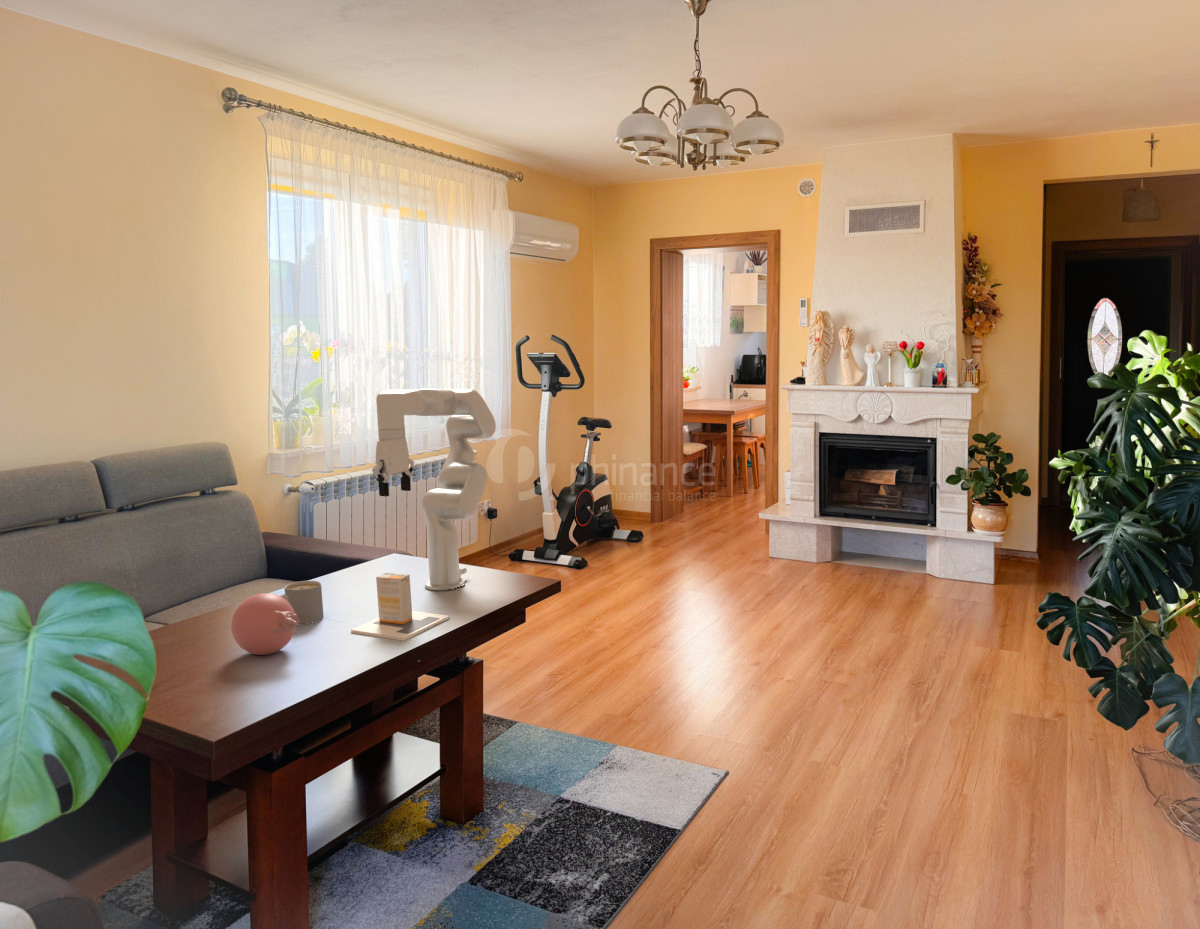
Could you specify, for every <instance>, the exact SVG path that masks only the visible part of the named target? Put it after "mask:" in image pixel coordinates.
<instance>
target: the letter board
mask: <svg viewBox="0 0 1200 929" xmlns="http://www.w3.org/2000/svg"><path fill="white" fill-rule="evenodd" d="M447 618H449V619H450V615H446V614H437V613H432V612H431V613H430V612H422V611H418V610H417V611H416V610H412V620H411V621H409V622H407V623H405V624H396V623H387V622H379V617H377V618H374V619H372V620H370V621H368V622H365V623H363V624H361V625H358V626H356V627H354V628H352V629H350V633H351V634H359V635H366V636H371V637H376V638H377V637H378V638H384V639H390V640H396V641H404V642H405V641H407V640H409V639H411V638H412V637H415V636H416V635H419V634H421V633H423V632H424V630H425V631H427V630H429V629H431V628H433V627H435V626H437V625H439V624H441V623H443V622H442V621H444V620H445V619H447ZM440 622H441V623H440ZM444 622H445V621H444ZM438 623H439V624H438ZM436 624H437V625H436ZM434 625H435V626H434ZM430 627H431V628H430ZM428 628H429V629H428Z"/></svg>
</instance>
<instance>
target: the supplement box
mask: <svg viewBox="0 0 1200 929" xmlns="http://www.w3.org/2000/svg"><path fill="white" fill-rule="evenodd" d="M410 575H411V574H408V573H407V574H404V573H392V572H385V573H382V574H379V575H377V576H376V577H375V578H376V579H375V580H376V592H377V605H378V606H377V607H378V618H379V622H387V623H396V624H405V623H407V622H409V621H411V620H412V611H413V607H412V592H411V577H410Z"/></svg>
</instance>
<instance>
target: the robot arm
mask: <svg viewBox="0 0 1200 929" xmlns="http://www.w3.org/2000/svg"><path fill="white" fill-rule="evenodd" d="M375 399H376V414H377V415H376V416H377V417H376V418H377V430H378V431H377V432H378V440H377V442H376V447H375V448H376V449H375V465H374V466H373V467H372V470H371V472H372V473H373V476H374V479H375V480H376V482H377V483H378V495H379V496H380V497H389V496H390V486H389V485H390V483H389V482H388V481H389V478H390V476H393V475H398V474H400V475H401V476H400V490H401V491H406V492H410V491H411V490H412V488H411V487H412V486H411V477H412V473H413V470H414V464H415V461H414V460H412V458H410V455H409V454H410V453H409V448H408V442H407V437H406V427H405V426H406V425H405V416H418V417H419V416H421V417H439V416H440V417H442V416H444V417H446V416H448V418H447V420H446V423H445V425H446V426H445V427H446V429H445V430H446V433H447V438H448V444H449V451H448V454H447V457H446V459H445V461H444V464H443V466H442V467H441V470H440V471H439V476H438V478H437V480H438V485H439V487H440V488H432V489H430V490H428V491H426V492H425V493H424V494H423V496H422V501H421V504H422V511H423V515H424V519H425V525H426V538H427V555H428V574H429V575H428V576H429V579H428V580H427V581H426V582H424V583H425V584H424V586H425V588H426V589H428V590H431V591H449V590H448V589H451V590H454V589H453V588H456V589H458V588H457V587H459V588H461V587H460V586H462V585H463V584H464V583H465V579H464V578H461V577H462V575H463V574H466V573H467V568H466V567H462V568H460V561H459V560H460V559H459V558H460V557H459V543H458V542H459V541H458V529H457V526H456V525H455V524H456V523H455V522H454V521H453V520H457V521H458V520H459V521H461V520H463V521H464V520H465V521H466V520H469V519H471V518H473V516H474V515H475V513H476V512H477V510H478V508H479V506H480V502H481V500H482V498H483V495H484V493H485V489H486V488H487V483H488V473H487V468H486V467H485V466H484V465H483V464H480V463H478V462H477V463H476V462H474V461H475V456H476V455H475V451H474V449H473V447H472V446H471V444H470V443H469V441H468V439H475V440H476V439H478V440H480V439H484V440H485V439H489V438H491V437H493V436H494V434H495V432H496V428H497V427H496V420H495V416H494V415H493V413H492V411H491V410H490V408H489V406H488V404H487V402H486V401H485V399H484V398H483V396H482V395H481V394H480V393H479V391H477V390H476V389H472V388H470V389H469V388H464V389H463V388H462V389H461V388H459V389H458V388H455V389H453V388H421V389H386V390H383V391H382V392H379V393H377V395H376V398H375ZM465 584H466V583H465ZM465 584H464V585H465ZM464 585H463V586H464ZM463 586H462V587H463Z"/></svg>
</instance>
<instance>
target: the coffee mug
mask: <svg viewBox="0 0 1200 929" xmlns="http://www.w3.org/2000/svg"><path fill="white" fill-rule="evenodd" d="M279 596H280V597H282V598H284V599H285V600H286V601H288V602H289V603H290V605H291V606H292V608H293V609H294V612H295V614H296V615H297V619H299V624H302V625H307V624H306V623H310V624H313V623H312V622H314V623H316V621H317V622H319V620H320V621H321V619H322V618H323V619H324V605H323V589H322V582H320V581H317V580H301V581H295V582H291V583H288V584H286V585H285V586H284V594H281V595H279ZM323 619H322V620H323Z"/></svg>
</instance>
